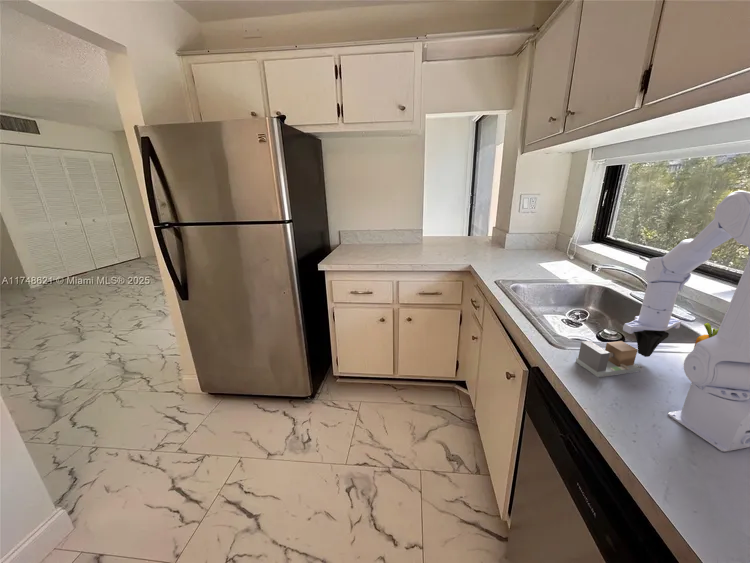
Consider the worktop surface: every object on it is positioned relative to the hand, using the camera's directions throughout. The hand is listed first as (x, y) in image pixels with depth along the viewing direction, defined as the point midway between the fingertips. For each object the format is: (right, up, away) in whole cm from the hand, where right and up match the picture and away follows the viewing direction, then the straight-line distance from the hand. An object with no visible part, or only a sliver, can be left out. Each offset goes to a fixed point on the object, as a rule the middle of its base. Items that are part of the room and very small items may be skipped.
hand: (643, 354), depth 81 cm
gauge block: (-8, -2, -2) cm, 8 cm away
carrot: (+7, -5, -7) cm, 11 cm away
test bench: (-10, -3, -1) cm, 11 cm away
